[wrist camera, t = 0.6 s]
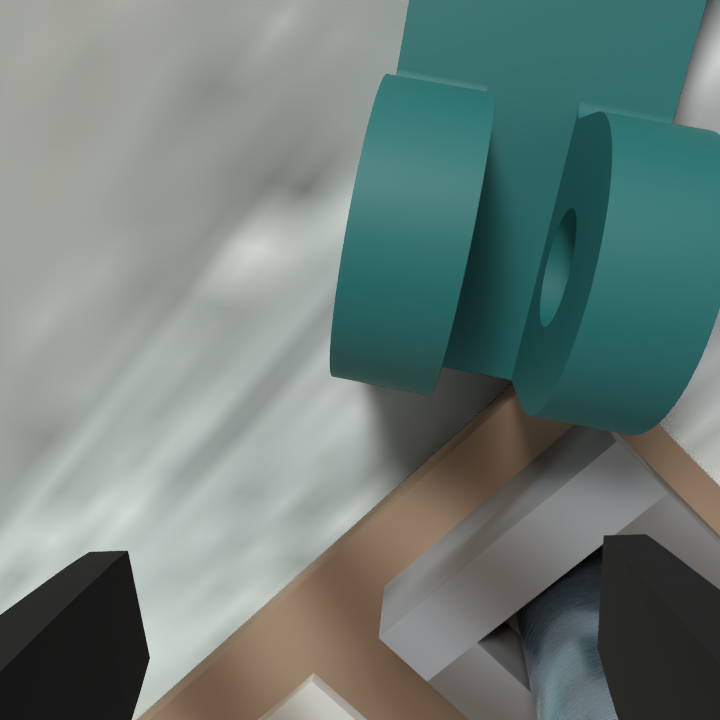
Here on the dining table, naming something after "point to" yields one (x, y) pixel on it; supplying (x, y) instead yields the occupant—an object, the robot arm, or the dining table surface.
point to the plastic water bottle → (567, 646)
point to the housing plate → (362, 564)
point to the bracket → (535, 210)
